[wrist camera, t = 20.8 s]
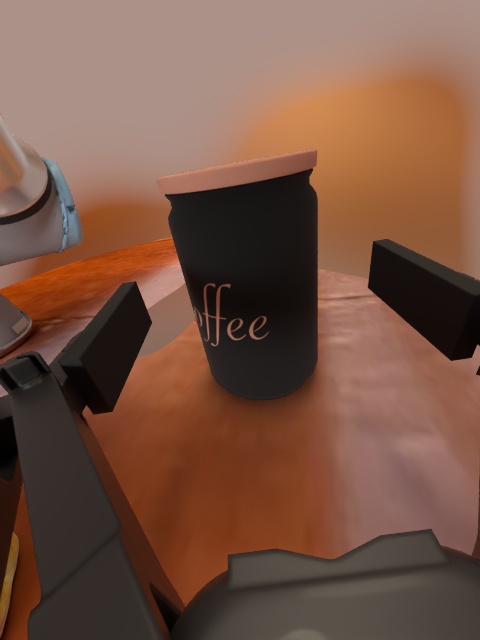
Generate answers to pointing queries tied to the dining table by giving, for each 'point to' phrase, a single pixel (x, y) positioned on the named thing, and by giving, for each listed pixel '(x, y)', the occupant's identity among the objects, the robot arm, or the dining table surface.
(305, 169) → the coffee jar
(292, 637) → the robot arm
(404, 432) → the dining table surface
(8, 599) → the bread roll
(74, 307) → the dining table surface
